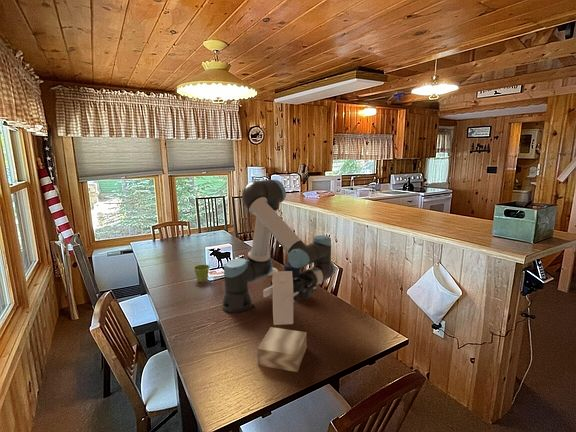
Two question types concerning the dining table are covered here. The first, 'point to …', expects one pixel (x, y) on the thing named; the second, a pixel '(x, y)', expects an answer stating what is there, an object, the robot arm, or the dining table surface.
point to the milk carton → (282, 297)
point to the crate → (282, 349)
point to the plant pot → (202, 272)
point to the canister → (293, 273)
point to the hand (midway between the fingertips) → (275, 297)
